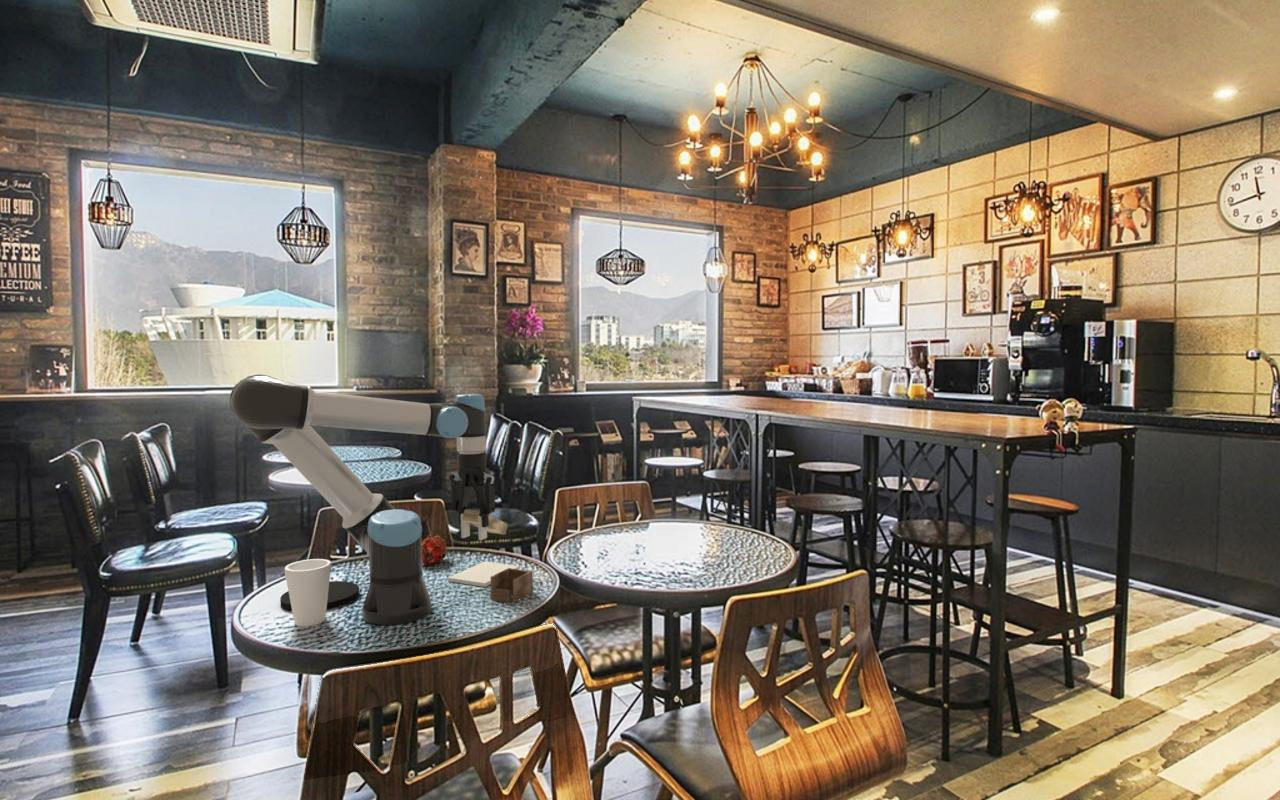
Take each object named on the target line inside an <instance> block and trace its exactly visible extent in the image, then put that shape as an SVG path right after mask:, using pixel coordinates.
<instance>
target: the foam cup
mask: <svg viewBox="0 0 1280 800" xmlns="http://www.w3.org/2000/svg"><path fill="white" fill-rule="evenodd" d="M331 573H332V562H331V560H329V559H324V558H312V559H302V560H299V561H294V562H292V563H289V564H287V565H286V566H285V567H284V579H285V580H286V585H287V591H289V597H290V602H291V607H292V612H291V613H292V616H293V617H292V618H293V621H294V625H295V626H298V627H309V626H315V625H318V624H320V623H323V622H325V620H326V616H327V610H326V609H327V600H328V590H329V581H330V580H331V579H330V578H331Z"/></svg>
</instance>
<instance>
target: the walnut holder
mask: <svg viewBox="0 0 1280 800" xmlns="http://www.w3.org/2000/svg"><path fill="white" fill-rule="evenodd" d="M533 586H534V585H533V571H531V570H525V569H520V570H519V569H512V568H508V569H506V570H504V571H502V572H500V573H498V574H495V575H493V576H491V584H490V598H491V599H492V601H494V602H501V603H506V602H508V603H507V604H510V603H511V590H513V591H512V601H513V603H517V602H519V601H520V600H519V599H521V598H522V599H524V598H525V597H524V596H526V595H528V594H529V595H531V594H533V593H532V592H533V591H534V588H533ZM530 593H531V594H530ZM529 595H528V596H529ZM523 597H524V598H523ZM526 597H527V596H526ZM522 599H521V600H522ZM518 600H519V601H518ZM516 601H517V602H516Z"/></svg>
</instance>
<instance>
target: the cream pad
mask: <svg viewBox="0 0 1280 800" xmlns="http://www.w3.org/2000/svg"><path fill="white" fill-rule="evenodd" d="M520 567H521V566H519V565H512V564H505V563H500V562H499V563H498V562H491V561H483V562H480V563H477V564H476V565H473V566H471V567H469V568H467V569H466V570H461V571H460V572H458V573H455V574H453V575H451V576H448V577H447V581H448V582H449V583H457V584H464V585H469V586H470V585H471V586H475V587H482V588H486V587H487V586H489V585H490V586H491V576H493V575H495V574H498V573H500V572H502V571H504V570H506V569H508V568H512V569H520ZM520 570H521V569H520Z"/></svg>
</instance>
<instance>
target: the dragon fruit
mask: <svg viewBox="0 0 1280 800" xmlns="http://www.w3.org/2000/svg"><path fill="white" fill-rule="evenodd" d="M448 553H449V550H448V549H447V540H446V539H445V538H441V536H440V535H434V536H432V535H427V537H426V538H424V539H422V564H423V565H424V566H426V567H427V566H430V565H432V564H435V563H438V564H439V563H441V562H442V561H443V560H444V559H445V558H446V557H447V555H448Z"/></svg>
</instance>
